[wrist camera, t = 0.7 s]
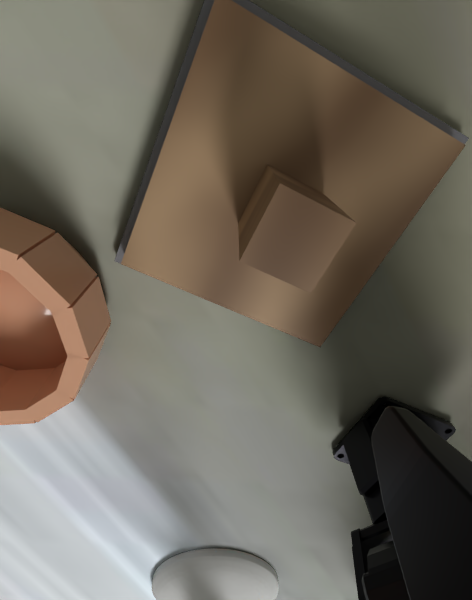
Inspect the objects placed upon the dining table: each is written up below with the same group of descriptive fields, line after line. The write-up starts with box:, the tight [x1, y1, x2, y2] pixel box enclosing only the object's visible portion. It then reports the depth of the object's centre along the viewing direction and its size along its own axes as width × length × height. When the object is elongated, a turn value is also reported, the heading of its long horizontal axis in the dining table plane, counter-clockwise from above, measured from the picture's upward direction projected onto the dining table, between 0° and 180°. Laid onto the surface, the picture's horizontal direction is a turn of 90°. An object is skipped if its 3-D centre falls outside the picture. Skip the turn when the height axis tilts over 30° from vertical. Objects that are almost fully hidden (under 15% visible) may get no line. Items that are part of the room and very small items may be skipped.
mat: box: [115, 0, 469, 264], centre depth 18 cm, size 13×13×1 cm
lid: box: [121, 0, 465, 347], centre depth 15 cm, size 12×12×6 cm
